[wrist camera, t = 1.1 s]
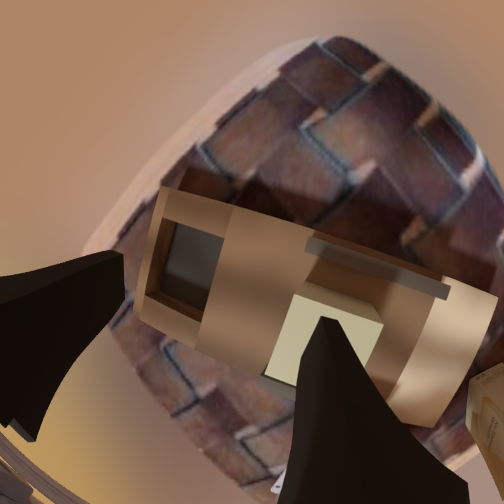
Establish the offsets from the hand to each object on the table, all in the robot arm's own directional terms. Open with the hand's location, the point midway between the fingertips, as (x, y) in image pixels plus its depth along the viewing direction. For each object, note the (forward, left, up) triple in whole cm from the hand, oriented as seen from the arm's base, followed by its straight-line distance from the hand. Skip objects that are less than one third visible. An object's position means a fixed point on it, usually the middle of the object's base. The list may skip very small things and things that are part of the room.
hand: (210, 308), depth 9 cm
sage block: (-2, -5, -11) cm, 12 cm away
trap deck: (-2, -3, -13) cm, 13 cm away
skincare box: (-5, -24, -13) cm, 27 cm away
